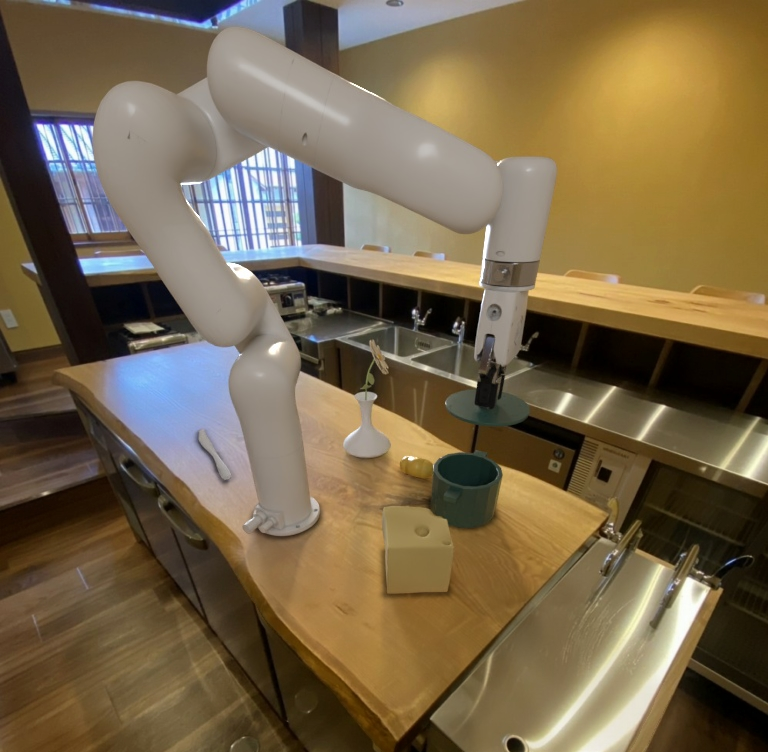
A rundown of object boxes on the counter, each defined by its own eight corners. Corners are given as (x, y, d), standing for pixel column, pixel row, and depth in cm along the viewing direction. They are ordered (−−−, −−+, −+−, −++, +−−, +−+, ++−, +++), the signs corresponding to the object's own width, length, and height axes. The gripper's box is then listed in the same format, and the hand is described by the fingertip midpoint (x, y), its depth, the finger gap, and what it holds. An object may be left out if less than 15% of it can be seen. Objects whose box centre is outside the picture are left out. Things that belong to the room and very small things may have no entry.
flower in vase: (378, 467, 96) (377, 355, 81) (334, 456, 100) (326, 347, 84) (400, 442, 105) (404, 337, 90) (360, 433, 109) (356, 331, 94)
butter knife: (218, 480, 90) (232, 475, 92) (194, 431, 109) (205, 427, 110) (219, 482, 91) (233, 478, 92) (194, 433, 109) (206, 429, 110)
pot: (505, 493, 88) (513, 456, 83) (478, 544, 76) (485, 504, 70) (448, 477, 93) (453, 441, 87) (414, 523, 80) (416, 484, 75)
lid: (536, 404, 72) (544, 368, 69) (517, 437, 63) (525, 398, 59) (460, 389, 77) (464, 355, 74) (432, 418, 68) (435, 381, 64)
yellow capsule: (436, 475, 94) (437, 458, 91) (428, 484, 91) (430, 468, 88) (404, 466, 97) (405, 450, 94) (396, 475, 94) (396, 458, 91)
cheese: (440, 549, 75) (446, 503, 69) (450, 596, 66) (457, 549, 60) (382, 550, 74) (382, 504, 68) (383, 597, 66) (384, 550, 60)
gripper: (522, 287, 51) (496, 427, 62) (547, 268, 62) (522, 389, 74) (462, 281, 53) (448, 416, 65) (497, 264, 65) (480, 381, 76)
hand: (487, 400), depth 69 cm, fingers closed on lid, 3 cm apart
